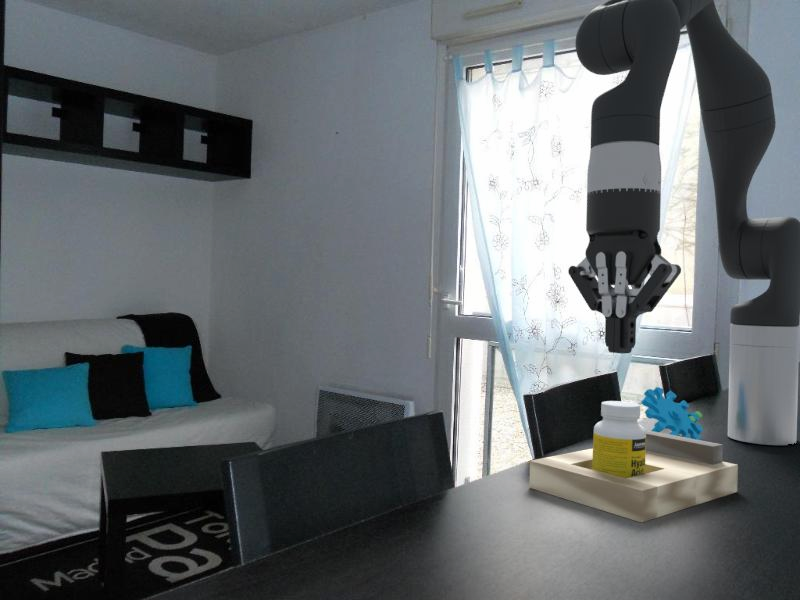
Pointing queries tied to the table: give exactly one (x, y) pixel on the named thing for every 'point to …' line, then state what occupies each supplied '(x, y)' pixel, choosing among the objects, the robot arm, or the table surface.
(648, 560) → the table surface
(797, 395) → the robot arm
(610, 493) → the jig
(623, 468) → the supplement bottle
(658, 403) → the blue lobed piece
